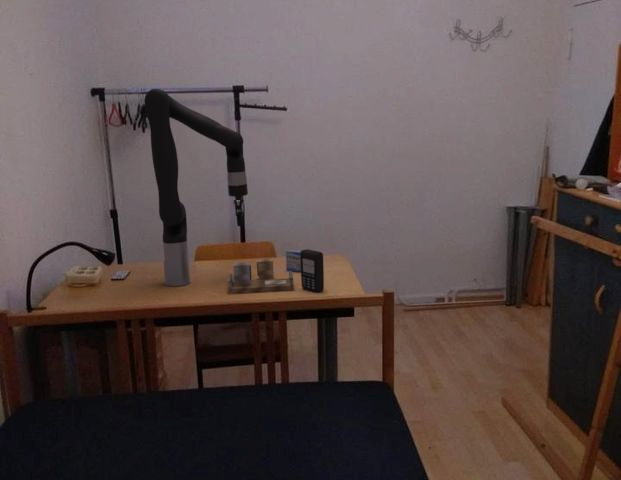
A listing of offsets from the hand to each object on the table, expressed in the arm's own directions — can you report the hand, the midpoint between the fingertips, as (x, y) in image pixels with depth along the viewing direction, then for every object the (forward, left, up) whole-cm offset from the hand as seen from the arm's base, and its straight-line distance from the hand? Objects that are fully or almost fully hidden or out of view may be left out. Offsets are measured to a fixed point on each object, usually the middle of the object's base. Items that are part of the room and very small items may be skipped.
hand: (240, 223), depth 235 cm
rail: (+7, -15, -23) cm, 28 cm away
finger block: (+9, -3, -23) cm, 25 cm away
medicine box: (+22, +8, -23) cm, 33 cm away
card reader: (+26, -21, -23) cm, 40 cm away
